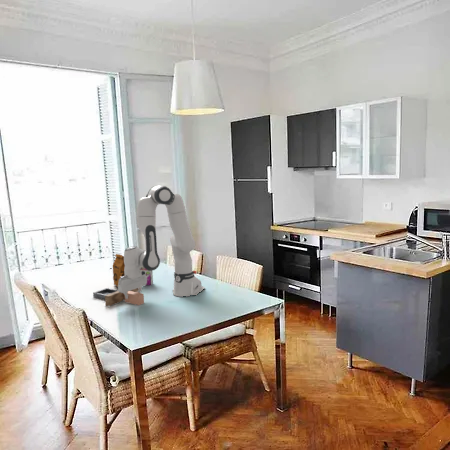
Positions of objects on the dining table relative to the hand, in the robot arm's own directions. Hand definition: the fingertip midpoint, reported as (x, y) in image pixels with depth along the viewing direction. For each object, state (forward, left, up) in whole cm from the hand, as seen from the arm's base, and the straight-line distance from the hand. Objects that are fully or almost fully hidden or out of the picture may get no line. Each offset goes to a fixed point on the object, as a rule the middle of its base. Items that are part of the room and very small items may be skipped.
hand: (133, 296), depth 232 cm
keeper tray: (0, -22, -4) cm, 22 cm away
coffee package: (-20, -32, -4) cm, 38 cm away
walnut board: (0, -10, -4) cm, 10 cm away
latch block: (0, 0, -4) cm, 4 cm away
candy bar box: (-30, -21, -4) cm, 37 cm away
